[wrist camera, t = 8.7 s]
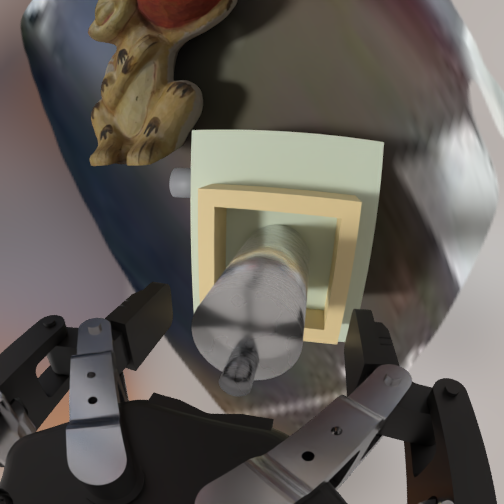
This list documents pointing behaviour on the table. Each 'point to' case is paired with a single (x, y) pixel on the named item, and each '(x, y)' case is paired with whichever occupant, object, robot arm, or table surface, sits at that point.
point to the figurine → (147, 77)
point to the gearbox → (286, 210)
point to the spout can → (256, 310)
